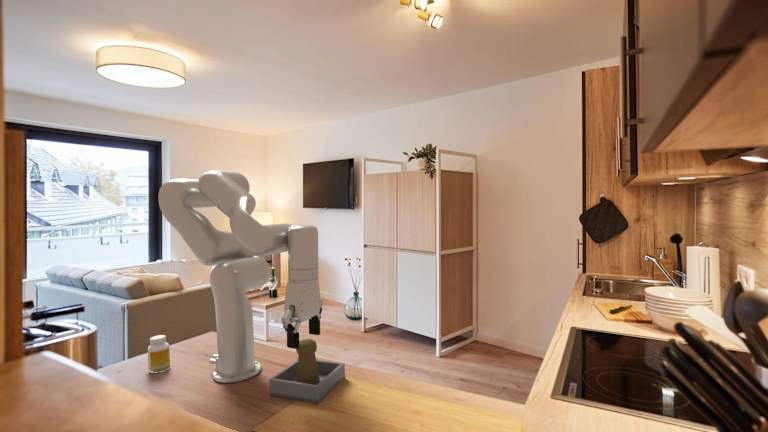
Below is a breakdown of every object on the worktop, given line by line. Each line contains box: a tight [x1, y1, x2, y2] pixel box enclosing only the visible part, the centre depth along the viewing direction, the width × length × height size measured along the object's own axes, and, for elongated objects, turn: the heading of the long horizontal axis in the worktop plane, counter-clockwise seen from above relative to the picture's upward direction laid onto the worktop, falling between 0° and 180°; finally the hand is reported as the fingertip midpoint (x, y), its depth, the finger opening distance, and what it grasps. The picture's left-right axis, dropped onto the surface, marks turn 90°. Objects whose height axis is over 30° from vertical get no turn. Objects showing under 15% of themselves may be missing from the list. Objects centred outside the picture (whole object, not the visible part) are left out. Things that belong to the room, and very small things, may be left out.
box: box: [268, 359, 346, 405], centre depth 96 cm, size 14×14×4 cm
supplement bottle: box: [147, 334, 171, 372], centre depth 110 cm, size 5×5×10 cm
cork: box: [295, 338, 320, 385], centre depth 96 cm, size 6×6×11 cm
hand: (304, 340), depth 96 cm, fingers open, 9 cm apart
